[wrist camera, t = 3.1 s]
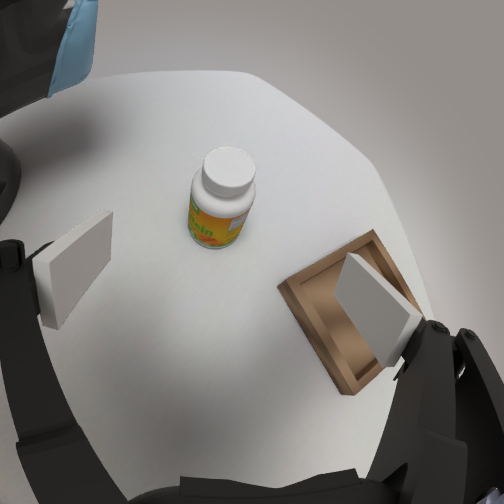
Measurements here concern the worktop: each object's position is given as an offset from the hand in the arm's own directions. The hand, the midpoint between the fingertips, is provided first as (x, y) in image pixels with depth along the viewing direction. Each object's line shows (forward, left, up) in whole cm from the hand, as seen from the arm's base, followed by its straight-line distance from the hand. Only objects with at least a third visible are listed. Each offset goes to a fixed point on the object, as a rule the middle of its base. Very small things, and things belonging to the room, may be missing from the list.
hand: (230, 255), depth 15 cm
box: (+8, +13, -12) cm, 20 cm away
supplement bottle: (-7, +4, -12) cm, 15 cm away
